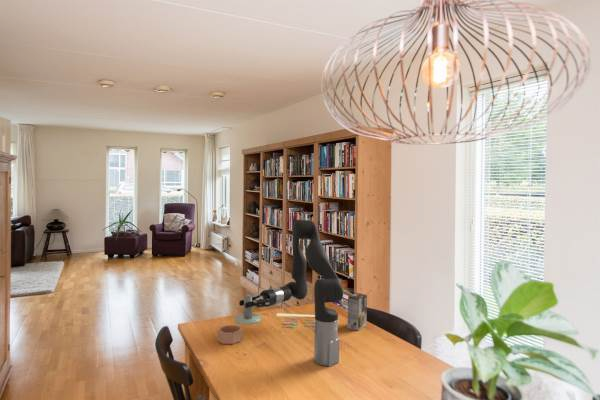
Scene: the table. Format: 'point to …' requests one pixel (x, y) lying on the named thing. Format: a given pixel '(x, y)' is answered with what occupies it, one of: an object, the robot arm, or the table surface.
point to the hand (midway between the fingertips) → (242, 304)
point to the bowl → (229, 334)
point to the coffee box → (357, 311)
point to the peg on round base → (247, 314)
